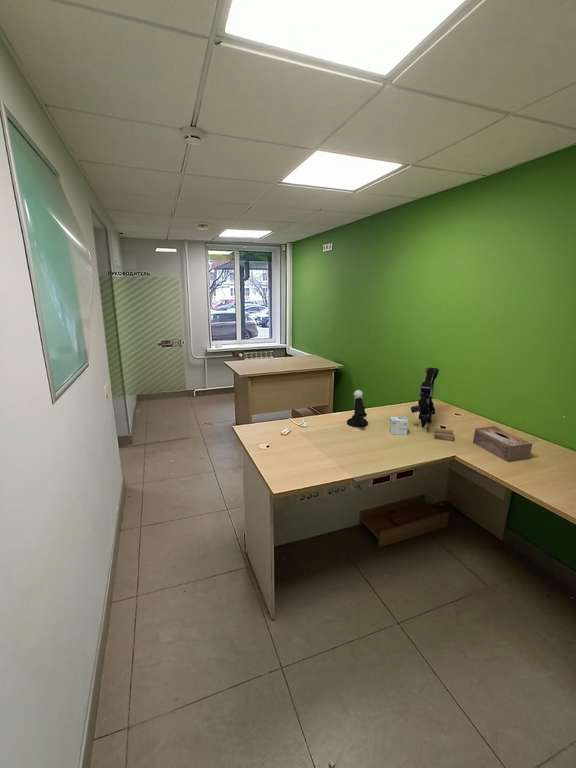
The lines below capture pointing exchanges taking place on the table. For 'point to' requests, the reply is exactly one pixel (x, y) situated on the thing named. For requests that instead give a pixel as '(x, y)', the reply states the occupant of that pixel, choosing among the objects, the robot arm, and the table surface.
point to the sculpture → (358, 412)
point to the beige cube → (422, 429)
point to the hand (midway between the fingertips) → (422, 424)
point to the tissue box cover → (502, 444)
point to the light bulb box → (398, 425)
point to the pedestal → (443, 434)
